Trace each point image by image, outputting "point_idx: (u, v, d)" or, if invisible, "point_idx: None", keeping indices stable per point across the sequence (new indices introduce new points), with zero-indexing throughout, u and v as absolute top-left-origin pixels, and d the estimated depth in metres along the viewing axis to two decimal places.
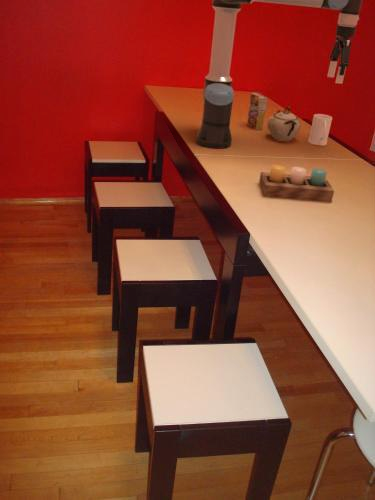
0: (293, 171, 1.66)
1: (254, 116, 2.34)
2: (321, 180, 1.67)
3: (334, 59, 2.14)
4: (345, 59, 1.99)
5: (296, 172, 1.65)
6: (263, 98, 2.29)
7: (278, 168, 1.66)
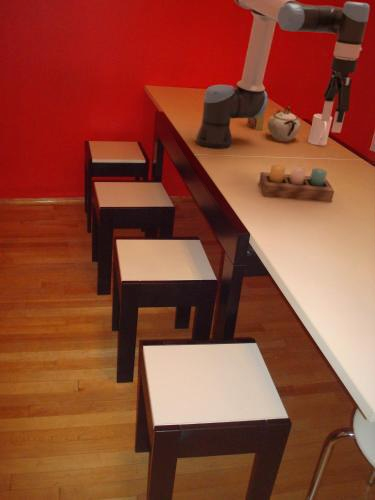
0: (293, 171, 1.66)
1: None
2: (321, 180, 1.67)
3: (329, 99, 1.66)
4: (344, 102, 1.51)
5: (296, 172, 1.65)
6: None
7: (278, 168, 1.66)
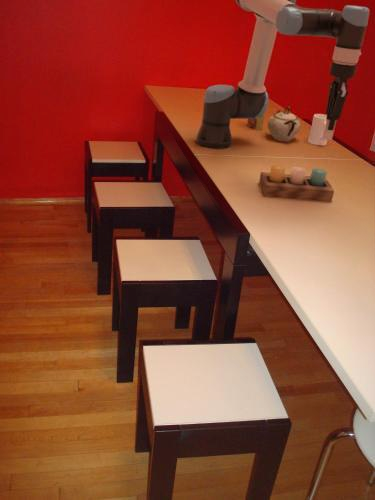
0: (293, 171, 1.66)
1: None
2: (321, 180, 1.67)
3: None
4: (336, 113, 1.54)
5: (296, 172, 1.65)
6: None
7: (278, 168, 1.66)
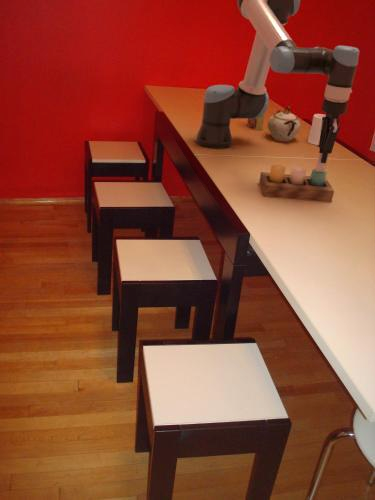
0: (293, 171, 1.66)
1: None
2: (321, 181, 1.67)
3: None
4: (328, 147, 1.59)
5: (296, 172, 1.65)
6: None
7: (278, 168, 1.66)
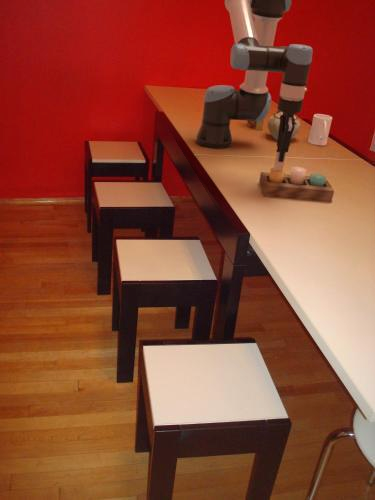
0: (293, 171, 1.66)
1: None
2: None
3: None
4: (284, 146, 1.59)
5: (296, 172, 1.65)
6: None
7: (277, 171, 1.66)
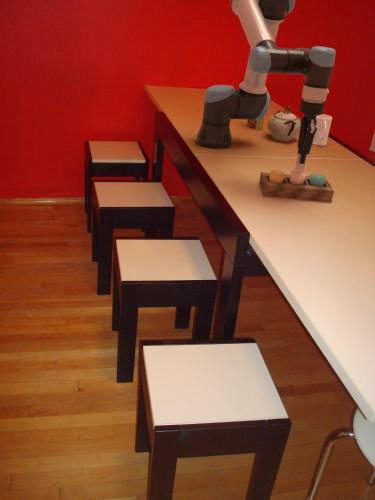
0: (292, 174, 1.67)
1: None
2: None
3: None
4: (306, 148, 1.59)
5: (296, 175, 1.66)
6: None
7: (277, 173, 1.67)
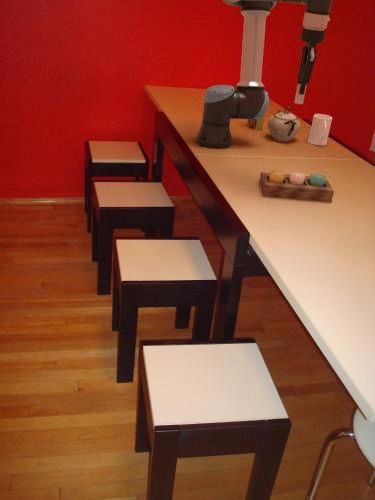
0: (292, 176, 1.67)
1: None
2: None
3: None
4: (305, 77, 1.61)
5: (295, 178, 1.66)
6: None
7: (277, 173, 1.67)
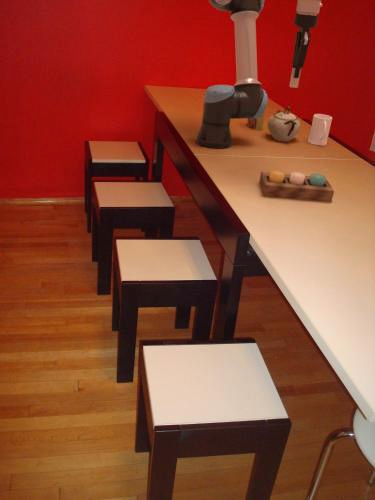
0: (292, 176, 1.67)
1: None
2: None
3: None
4: (300, 61, 1.68)
5: (295, 178, 1.66)
6: None
7: (277, 173, 1.67)
